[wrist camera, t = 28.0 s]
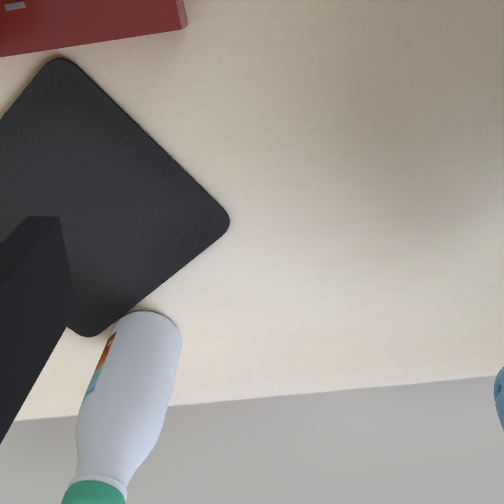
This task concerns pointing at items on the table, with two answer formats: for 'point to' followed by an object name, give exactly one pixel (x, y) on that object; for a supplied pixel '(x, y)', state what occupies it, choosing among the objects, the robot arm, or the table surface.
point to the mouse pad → (100, 193)
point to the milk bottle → (124, 407)
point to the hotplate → (82, 22)
